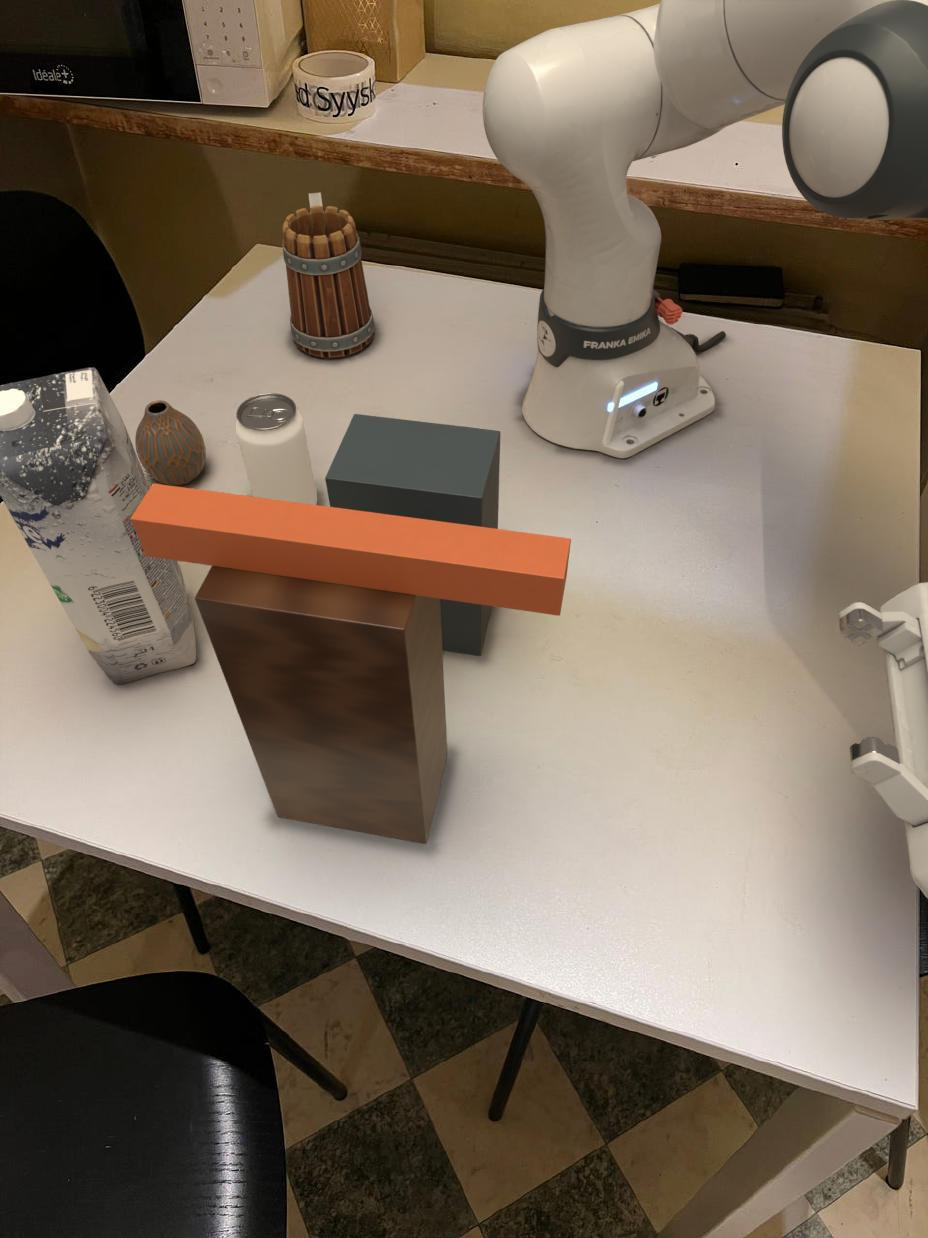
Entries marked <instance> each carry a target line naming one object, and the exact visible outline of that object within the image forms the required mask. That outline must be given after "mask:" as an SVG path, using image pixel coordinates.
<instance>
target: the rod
mask: <svg viewBox="0 0 928 1238" xmlns="http://www.w3.org/2000/svg"><path fill="white" fill-rule="evenodd" d="M131 522H132V524H133V526H134V529H135V531H136V534H137V536H138V538H139V541H140V543H141V545H142V548H143V550H144V553H145V555H146V556H148V557H155V558H162V559H169V560H176V561H177V562H183V563H190V564H197V565H203V566H204V565H205V566H211V567H212V566H217V567H224V568H231V569H238V570H245V571H252V572H259V573H266V574H273V575H280V576H287V577H294V578H301V579H307V580H314V581H321V582H328V583H335V584H342V585H349V586H356V587H363V588H370V589H377V590H384V591H391V592H398V593H404V594H411V595H418V596H425V597H432V598H439V599H446V600H453V601H460V602H467V603H474V604H481V605H488V606H492V607H496V608H502V609H508V610H515V611H523V612H529V613H537V614H544V615H549V616H550V615H551V616H559V617H560V616H561V612H562V608H563V607H562V606H563V601H564V595H565V588H566V582H567V578H568V569H569V568H568V567H569V560H570V552H571V543H572V539H571V538H569V537H562V536H555V535H547V534H539V533H531V532H524V531H516V530H508V529H502V528H501V529H500V528H498V529H494V528H487V527H479V526H472V525H464V524H456V523H449V522H441V521H434V520H426V519H419V518H411V517H403V516H396V515H388V514H381V513H373V512H366V511H358V510H350V509H343V508H335V507H330V506H327V505H321V504H317V505H313V504H305V503H297V502H290V501H282V500H275V499H267V498H260V497H253V495H243V494H236V493H229V492H222V491H215V490H214V491H213V490H206V489H199V488H191V487H183V486H173V485H167V484H162V483H152V484H151V486H149V490H148V492H147V493H146V495H145V497H144V498H143V500H142V501H141V503H140V504H139V506H138V507H137V509H136V511H135V512H134V514H133V515H132V517H131Z"/></svg>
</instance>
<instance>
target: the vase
mask: <svg viewBox="0 0 928 1238" xmlns="http://www.w3.org/2000/svg"><path fill="white" fill-rule="evenodd" d="M134 444H135V445H134V446H135V452H136V455H137V457H138V460H139V463H140V465H141V467H142V469H144V470H145V472H146V473H147V474H148V475H149V476H150V477H151V478H153V479H154V480H155V481H157V482H158V483H160V484H163V485H169V486H176V487H179V486H183V485H186V484H189V483H190V482H192V481H194V480H195V479H196V478H197V477H198V476H199V475H200V474H201V472H202V470H203V468H204V466H205V463H206V459H207V458H206V457H207V456H206V455H207V450H206V443H205V440H204V437H203V435H202V432H201V431H200V429H199V427H198V426H197V425H196V423H195V421H193V420H192V419H191V418H190V417H189V416H188V415H186V414H185V413H183V412H181V411H179V410H178V409H176V408H174V407H172V405H171V404H170V403H169V402H167V401H165V400H161V399H160V400H154V401H151V402H148V404H147V405H146V406H145V408H144V414H143V417H142V418H141V420H140V422H139V424H138V426H137V428H136V431H135V437H134Z"/></svg>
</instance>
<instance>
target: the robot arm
mask: <svg viewBox="0 0 928 1238" xmlns="http://www.w3.org/2000/svg"><path fill="white" fill-rule="evenodd" d="M781 106H784V108H783V113H782V122H781V124H782V125H781V140H782V141H781V142H782V149H783V155H784V156H783V157H784V160H785V164H786V167H787V170H788V173H789V175H790V178H791V181H792V182H793V184H794V186H795V187H796V189H797V191H798V192H799V193H800V195H801V196H802V197H803V198H804V200H806V201H807V202H808V203H809V204H810V205H811V206H812V207H814V208H815V209H816V210H818V211H820V212H822V213H824V214H825V215H829V216H832V217H835V218H840V219H841V218H842V219H847V220H860V221H891V220H912V219H914V220H928V0H660V3H657V4H654V5H651V6H648V7H644V8H641V9H637V10H634V11H630V12H626V13H620V14H617V15H613V16H609V17H603V18H599V19H595V20H594V19H593V20H588V21H585V22H579V23H574V24H570V25H564V26H560V27H554V28H550V29H547V30H545V31H544V32H541V33H538V34H536V35H535V36H533V37H531V38H528V39H526V40H524V41H522V42H520V43H518V44H517V45H515V46H513V47H511V48H509V49H508V50H505V51H503V52H502V53H501V54H500V55H499V56H497V58H496V59H495V61H494V62H493V64H492V66H491V69H490V70H489V73H488V75H487V79H486V82H485V84H484V90H483V97H482V121H483V128H484V132H485V136H486V139H487V142H488V145H489V147H490V149H491V151H492V153H493V154H494V156H495V158H496V159H497V161H498V162H499V163H500V164H501V165H502V167H503V168H504V169H505V170H506V171H507V172H508V173H509V174H511V175H512V176H513V177H515V178H516V179H518V180H520V181H521V182H522V183H523V184H524V185H526V187H527V188H529V189H530V191H531V192H532V194H533V195H534V198H535V199H536V200H537V204H538V205H539V208H540V210H541V215H542V218H543V223H544V233H545V264H544V265H545V266H544V267H545V268H544V286H543V287H544V288H542V290H541V292H540V295H539V302H538V311H537V325H536V326H537V327H536V342H537V353H536V359H535V363H534V369H533V372H532V376H531V379H530V383H529V385H528V389H527V391H526V394H525V395H524V397H523V401H522V406H521V412H522V416H523V419H524V421H525V422H526V424H527V426H528V427H529V428H530V429H531V430H532V431H533V432H534V433H536V434H537V435H538V436H540V437H542V439H545V440H547V441H548V442H551V443H553V444H556V445H559V446H562V447H564V448H565V447H566V448H569V449H575V450H584V451H594V452H595V451H596V452H599V453H601V454H605V455H607V456H610V457H614V458H618V459H628V458H630V457H633V456H634V455H636V454H638V453H640V452H642V451H643V450H645V449H647V448H650V447H651V446H653V445H654V444H656V443H659V442H660V441H662V440H664V439H666V438H667V437H669V436H671V435H673V434H675V433H677V432H679V431H680V430H682V429H684V428H687V427H688V426H690V425H692V424H693V423H695V422H697V421H699V420H702V419H703V418H705V417H707V416H708V415H711V414H712V413H713V412H714V411H715V408H716V399H715V395H714V392H713V389H712V388H711V386H710V385H709V384H708V382H707V381H706V380H705V379H704V377H703V376H702V375H700V362H699V359H698V356H697V354H696V353H703V352H706V351H707V350H709V349H711V348H712V347H714V346H715V345H716V344H717V343H719V342H721V341H722V340H723V339H725V338H726V337H727V333H726V332H725V331H724V330H721V331H720V332H718V333H716V334H715V335H714V336H711V338H709V339H708V340H706V341H705V342H703V343H701V344H699V343H700V341H699V337H698V336H697V335H695V334H692V333H689V334H684V333H682V332H680V331H679V330H676V329H675V328H673V327H671V326H669V325H674V324H677V323H678V322H679V320H680V319H681V318H682V315H683V308H682V307H681V306H680V305H679V304H676V303H674V301H673V300H672V299H671V298H666V299H664V300H663V299H662V298H660V297H661V294H660V293H659V292H658V291H657V290H655V289H654V286H655V285H654V284H655V279H656V272H657V267H658V262H659V261H658V260H659V254H660V250H661V244H662V232H661V227H660V224H659V222H658V220H657V218H656V216H655V214H654V213H653V211H652V210H651V208H650V207H649V206H648V205H647V204H646V203H645V202H643V201H642V200H640V199H639V198H637V197H636V196H634V195H631V194H629V193H628V192H627V176H628V172H629V169H630V167H631V166H632V165H631V164H632V163H633V162H635V161H639V160H644V159H646V158H651V157H654V156H657V155H662V154H665V153H669V152H673V151H676V150H680V149H684V148H688V147H690V146H692V145H695V144H697V143H699V142H701V141H703V140H706V139H708V138H710V137H712V136H714V135H716V134H718V133H719V132H721V131H722V130H724V129H725V128H727V127H730V126H732V125H734V124H736V123H739V122H742V121H744V120H747V119H750V118H753V117H755V116H758V115H761V114H763V113H765V112H768V111H771V110H773V109H776V108H780V107H781ZM660 318H662V319H663V320H664V321H665V322H663V321H661V320H660ZM838 624H839V633H840V636H841V637H843V638H844V639H848V640H849V641H850V642H851V643H853V644H855V645H857V646H858V647H860V646H862V645H864V644H865V643H867V642H869V641H870V639H871V638H875V639H876V644H877V646H878V647H879V648H882V649H883V654H884V662H885V669H886V678H887V687H888V696H889V702H890V711H891V720H892V729H893V735H894V736H893V737H894V744H895V746H894V745H892V744H890V743H885V741H883V739H881V738H879V737H875V736H867V737H865V738H863V739H862V740H860V742H859V743H857V742H854V743H853V744H851V745H850V746H849V756H850V772H851V774H853V775H854V776H856V777H857V778H860V779H861V780H863V781H865V782H867V783H869V784H871V785H872V787H873V789H875V791H876V792H877V793H878V795H879V796H880V797H881V798H882V800H883V801H884V802H885V804H886V806H888V808H889V809H890V811H891V812H892V813H893V814H894V815H895V816H896V818H898V819H900V820H902V821H904V826H905V837H906V843H907V853H908V860H909V861H908V862H909V871H910V875H911V878H912V879H913V881H914V882H915V884H916V886H917V887H918V888H919V889H920V891H921V892H922V894H923V895H924V896H925V898H926V899H928V581H924V582H919V583H916V584H913V585H912V586H910V587H908V588H906V589H904V590H903V591H901V592H900V593H898V594H896V595H895V596H894V597H892V598H890V599H889V600H888V601H886V602H885V603H883V604H882V605H881V606H880V608H879V611H878V609H877V610H876V609H875V608H874V607H871V606H870V605H868V604H866V603H864V602H861V601H857V602H853V603H851V604H849V605H848V606H847V607H845V608H844V609H842V610H841V611H839V612H838Z"/></svg>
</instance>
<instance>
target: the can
mask: <svg viewBox="0 0 928 1238" xmlns="http://www.w3.org/2000/svg"><path fill="white" fill-rule="evenodd" d="M236 419H237V420H236V422H235V433H236V437H237V441H238V445H239V449H240V453H241V457H242V460H243V461H242V462H243V465H244V468H245V472H246V475H247V480H248V484H249V487H250V491H251V494H252V495H251V496H252V497H260V498H267V499H275V500H282V501H290V502H297V503H305V504H313V505H318V491H317V486H316V482H315V476H314V470H313V464H312V459H311V453H310V448H309V443H308V438H307V437H308V436H307V432H306V427H305V422H304V419H303V416H302V414H301V412H300V411H299V409H297V404H296V402H295V401H294V400H293V399H292V398H291V397H289V396H287V395H285V394H282V393H276V392H266V393H260V394H256V395H253V396H251V397H248V398H247V399H245V400H244V401H243V402H241V403H240V404H239V406H238V408H237V410H236Z"/></svg>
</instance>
